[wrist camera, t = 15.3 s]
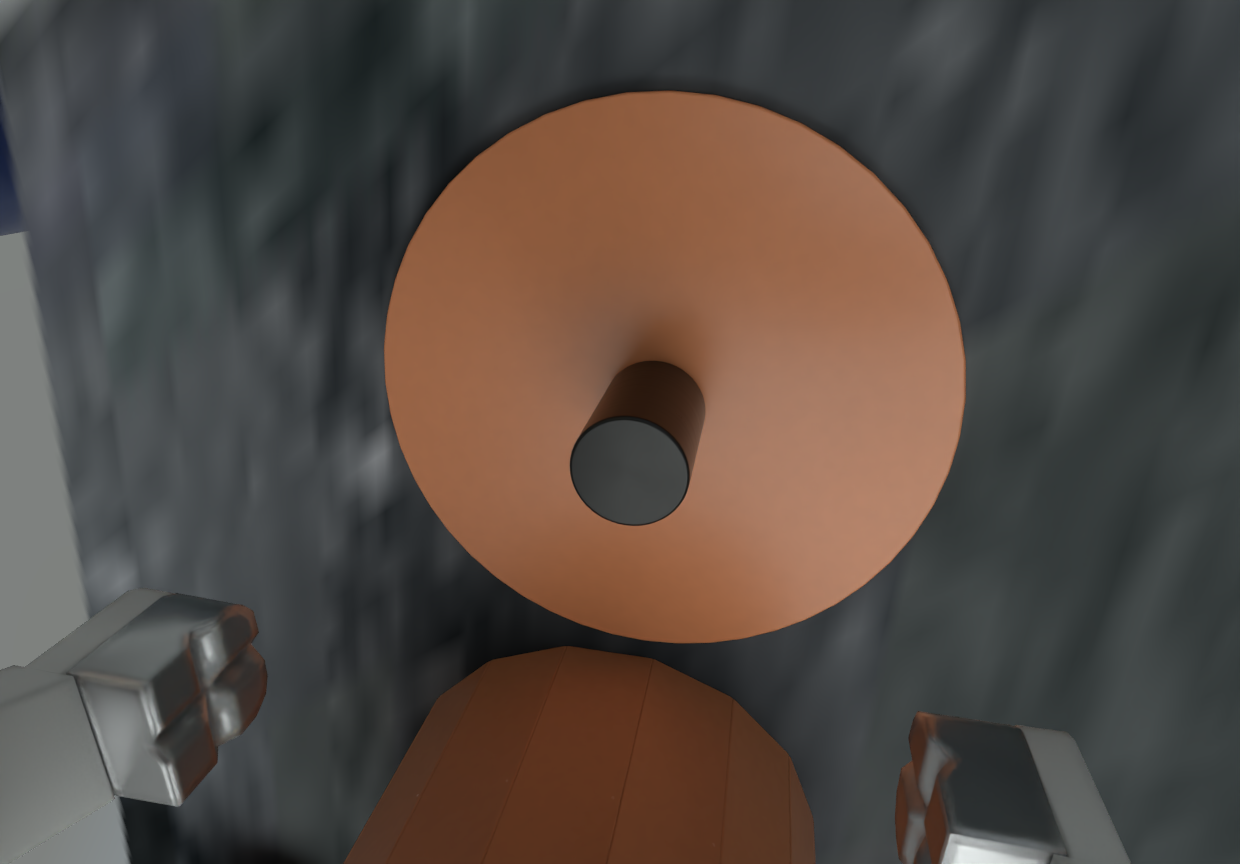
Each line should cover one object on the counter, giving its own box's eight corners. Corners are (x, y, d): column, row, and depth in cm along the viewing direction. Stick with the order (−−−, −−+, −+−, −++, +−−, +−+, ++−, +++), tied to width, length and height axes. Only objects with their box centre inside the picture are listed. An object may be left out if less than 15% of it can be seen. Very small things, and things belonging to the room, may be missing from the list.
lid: (425, 582, 23) (344, 691, 19) (379, 81, 17) (251, 77, 13) (898, 649, 21) (929, 790, 17) (1018, 100, 15) (1110, 102, 11)
